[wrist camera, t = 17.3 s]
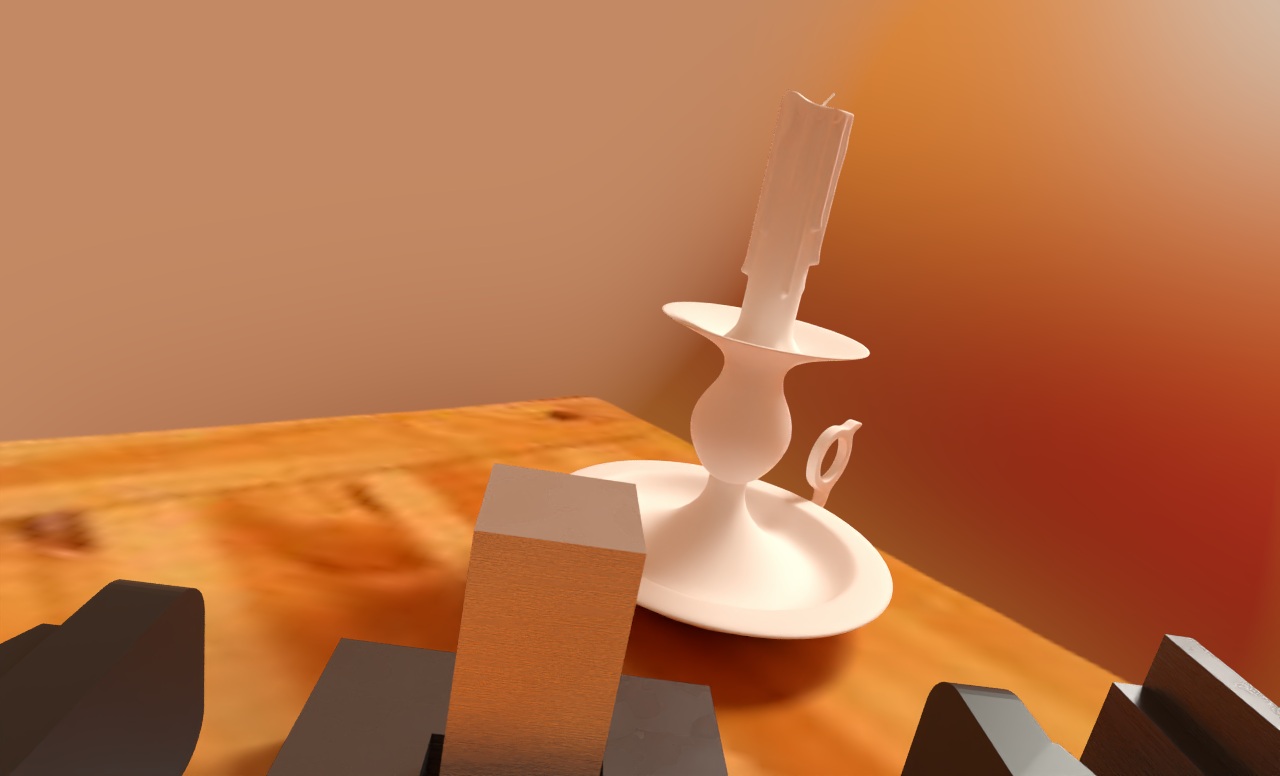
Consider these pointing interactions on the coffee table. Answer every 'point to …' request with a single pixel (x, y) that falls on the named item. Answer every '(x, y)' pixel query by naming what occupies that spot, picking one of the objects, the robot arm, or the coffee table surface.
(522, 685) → the square bit
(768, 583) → the candlestick
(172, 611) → the robot arm
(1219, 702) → the block
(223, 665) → the coffee table surface
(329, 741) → the bore plate
